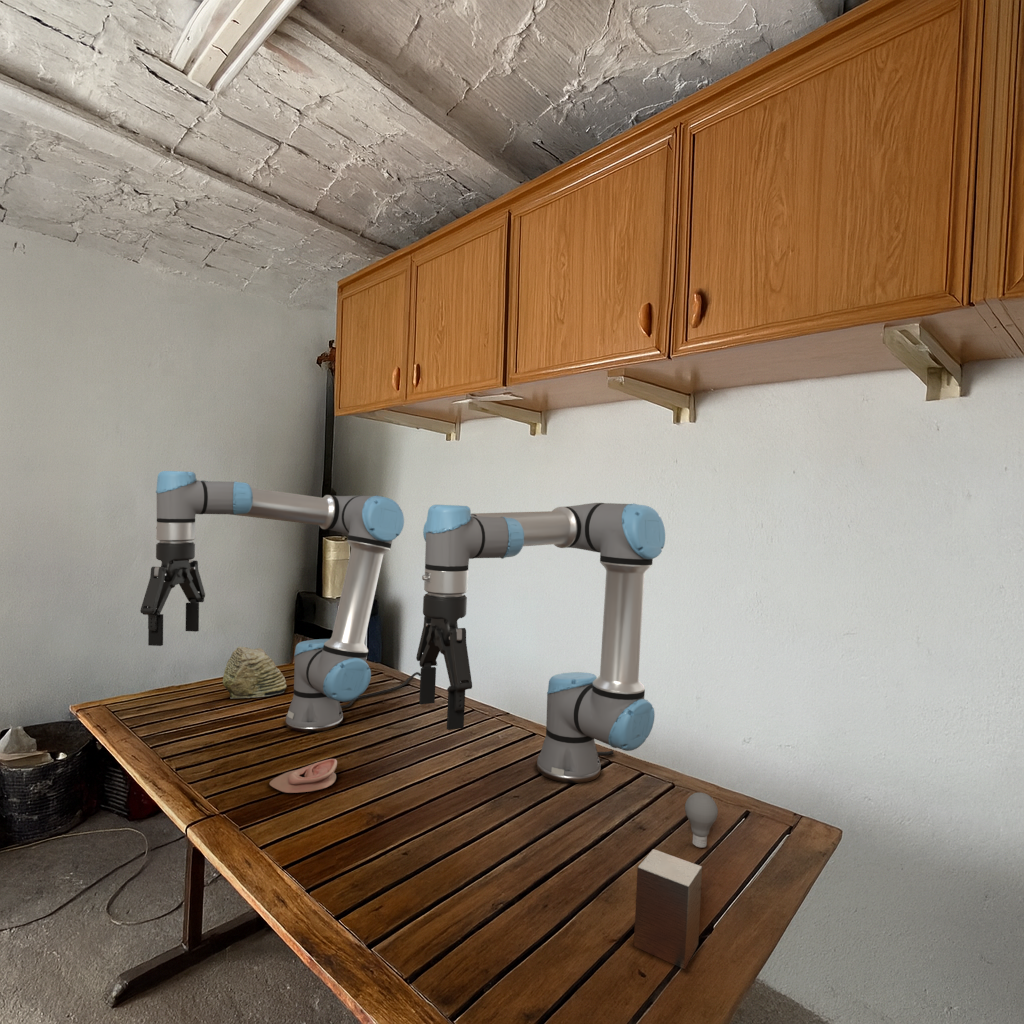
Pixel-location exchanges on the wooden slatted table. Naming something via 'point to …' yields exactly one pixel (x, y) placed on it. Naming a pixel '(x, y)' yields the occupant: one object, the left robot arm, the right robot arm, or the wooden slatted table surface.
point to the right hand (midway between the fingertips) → (440, 715)
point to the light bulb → (701, 816)
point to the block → (668, 907)
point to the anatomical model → (307, 778)
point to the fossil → (252, 674)
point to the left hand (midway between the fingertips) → (174, 638)
